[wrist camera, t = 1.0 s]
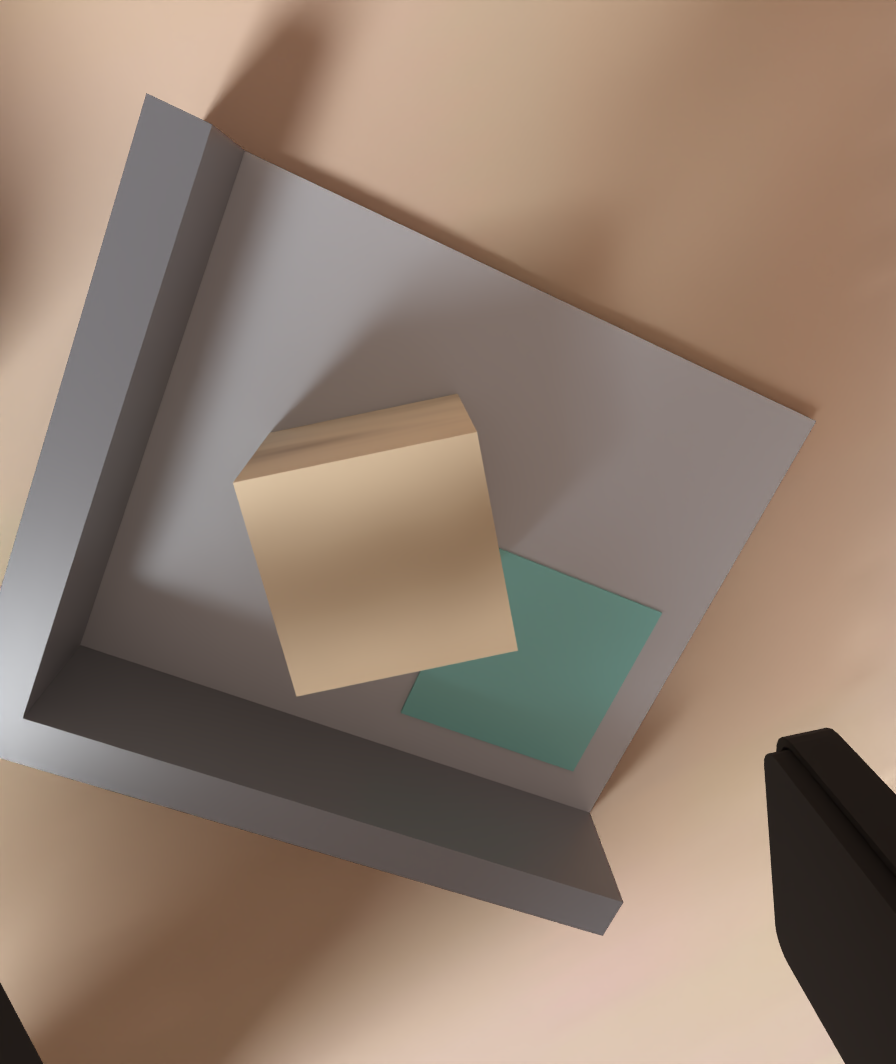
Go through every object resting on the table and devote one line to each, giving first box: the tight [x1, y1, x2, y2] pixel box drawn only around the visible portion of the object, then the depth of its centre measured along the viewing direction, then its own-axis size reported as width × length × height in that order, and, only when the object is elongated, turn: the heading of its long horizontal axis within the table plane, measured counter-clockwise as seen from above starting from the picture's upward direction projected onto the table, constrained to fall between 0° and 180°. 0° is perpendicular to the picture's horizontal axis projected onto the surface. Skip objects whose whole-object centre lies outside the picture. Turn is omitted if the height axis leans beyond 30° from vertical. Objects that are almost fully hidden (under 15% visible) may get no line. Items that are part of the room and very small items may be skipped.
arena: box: [0, 93, 816, 936], centre depth 24 cm, size 18×21×5 cm
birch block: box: [233, 394, 518, 696], centre depth 23 cm, size 6×6×6 cm
